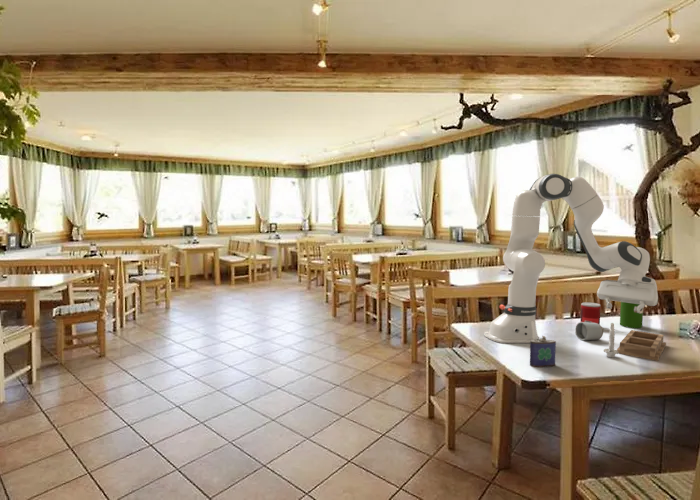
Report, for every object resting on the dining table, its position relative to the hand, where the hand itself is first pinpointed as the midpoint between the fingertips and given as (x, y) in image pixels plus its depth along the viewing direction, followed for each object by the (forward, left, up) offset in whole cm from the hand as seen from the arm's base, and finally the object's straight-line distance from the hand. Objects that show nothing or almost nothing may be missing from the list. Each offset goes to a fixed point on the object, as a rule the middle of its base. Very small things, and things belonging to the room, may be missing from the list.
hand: (622, 309), depth 162 cm
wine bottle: (+34, +29, -16) cm, 48 cm away
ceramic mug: (-2, +16, -16) cm, 23 cm away
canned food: (+14, +32, -16) cm, 39 cm away
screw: (-10, -6, -16) cm, 20 cm away
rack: (+9, -1, -16) cm, 19 cm away
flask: (-41, -9, -16) cm, 45 cm away
